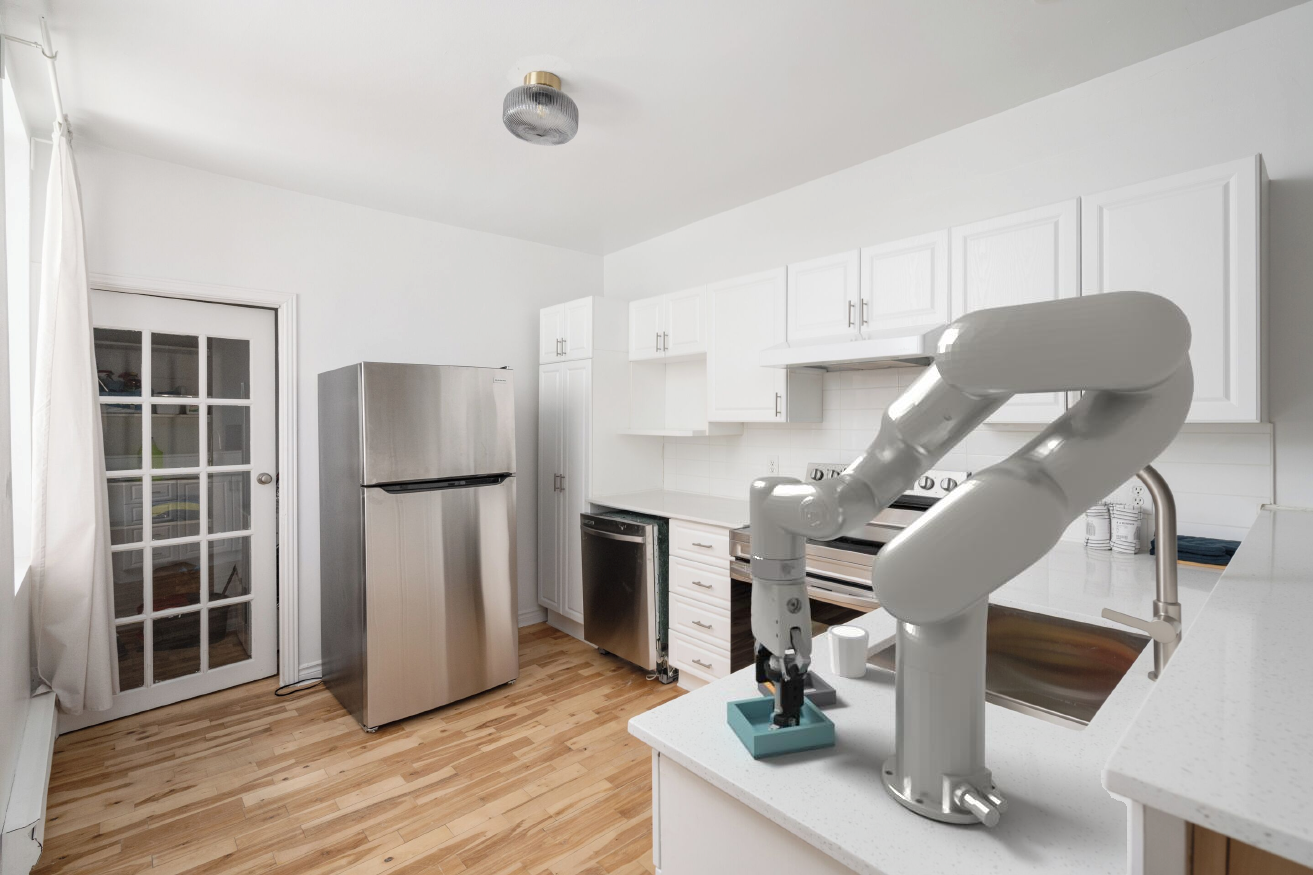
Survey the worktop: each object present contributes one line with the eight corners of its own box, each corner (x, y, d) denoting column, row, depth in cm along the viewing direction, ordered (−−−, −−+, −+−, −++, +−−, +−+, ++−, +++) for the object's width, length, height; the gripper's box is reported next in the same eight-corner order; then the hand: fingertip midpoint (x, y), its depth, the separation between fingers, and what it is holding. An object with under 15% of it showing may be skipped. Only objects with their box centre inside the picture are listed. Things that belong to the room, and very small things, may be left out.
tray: (834, 745, 80) (834, 723, 80) (754, 758, 78) (753, 736, 77) (800, 711, 90) (800, 691, 90) (727, 722, 87) (727, 702, 87)
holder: (836, 703, 92) (836, 688, 92) (778, 711, 90) (778, 696, 90) (811, 681, 100) (811, 668, 99) (757, 689, 97) (757, 675, 97)
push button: (787, 747, 79) (786, 673, 79) (752, 734, 83) (751, 662, 82) (810, 727, 84) (809, 656, 84) (776, 715, 88) (775, 647, 87)
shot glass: (839, 659, 109) (839, 621, 108) (876, 670, 104) (876, 630, 103) (819, 671, 104) (819, 631, 103) (857, 683, 99) (857, 641, 99)
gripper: (836, 581, 75) (836, 720, 76) (775, 551, 92) (776, 665, 93) (781, 586, 73) (782, 729, 74) (729, 554, 90) (730, 671, 91)
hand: (778, 692), depth 83 cm, fingers open, 7 cm apart
